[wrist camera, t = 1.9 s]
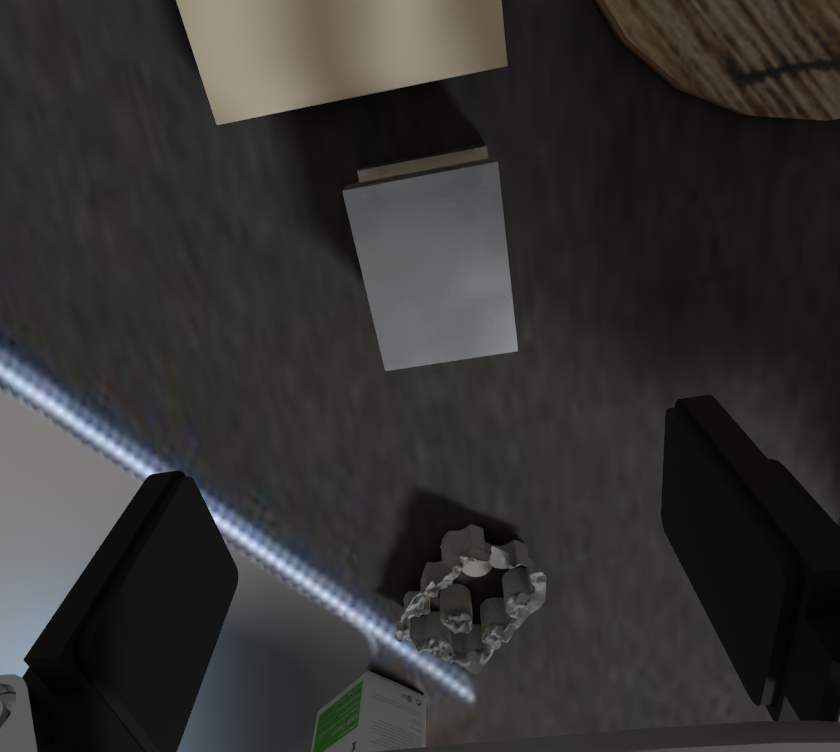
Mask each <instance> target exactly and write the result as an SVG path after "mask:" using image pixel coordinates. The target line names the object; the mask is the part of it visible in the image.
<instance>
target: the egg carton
mask: <svg viewBox="0 0 840 752" xmlns="http://www.w3.org/2000/svg"><path fill="white" fill-rule="evenodd" d="M440 548H441V551H442V561H439V562H427V563H426V565H425V568H424V570H423V575H422V578H421V581H420V582H421V591H415V592H414V591H408V592H407V593H406V594H405V596H404V599H403V601H404V613H403V615H402V618H401V620H400V621H398V622H397V633H396V635H395V638H396V639H397V641H399V642H402V641H403V639H407V640H409V641H411V642H412V643H414V644H415V646H416V648H417V650H418V651H419V652H422V651H428V652H430V653H431V654H433V656H435V657H439V658H442V659H444V660H445V661H447V662H448V663H449V664H451V663H452V662H458V663H459V664H460V665H461V666H463V667H464V668H466V669H467V670H469V671H471V672H473V673H474V674H476V675H477V674H478V673H479V672H480V671H481V669H482V668H483V666H484V665H485V663H486V662H487V661H488V659H489V658H490V657H491V655H492V653H493V651H494V649H499V648H500V645H501V642H502V641H503V642H508V641H509V639H510V638H511V636H512V634H513V633H514V632H515V630H516V629H517V628H518V627H520V626H521V625H522V623H523V622H524V620H525V619H526V618H527V617H528V616H529V615H530V614H532V613H533V612H535V611H536V610H537V609H539V608H540V607H541V606H542V605H543V603H544V602H545V597H546V576H545V575H544V574H543V573H541V572H539V573H535V570H534V563H533V560H532V559H531V558H529V556H528V551H527V547H526V545H525V544H524V543H522V542H519V541H518V540H513V541H511V542H510V543H508V544H506V545H503V546H495V545H490V544H488V543H486V542H485V541H484V533H483V528H481V527H478V526H475V525H472V524H470V525H469V526H467V527H466V528H464V529H462V530H459V531H449V532H447V533H446V534H445V536H444V537H443V539H442V544H441V546H440ZM519 565H524V566H526V567H527V568H526V569H524V568H515V567H517V566H519ZM492 566H493V567H494V568H499V569H506V568H509V571H507V572H506V573H505V574H504V575H503V577H502V586H503V593H504V598H499V597H494V598H489V599H486V600H485V601H484V602H483V603H482V604H481V606H480V614H481V625H480V624H472V603H471V594H470V591H469V589H468V588H467V587H466V586H464V585H461V584H452V583H453V580H454V579H455V578H457V577H458V575H459V574H460V572H461V571H463V572H464V573H465V574H466V575H468V576H472V577H480V576H484V575H485V574H487V573H488V572H489V571H491V568H492ZM512 568H514V569H512ZM510 569H511V570H510ZM440 589H442V590H441V591H440V612H439V611H433V612H430V610H431V609H430V597H437V596H438V593H439V590H440ZM422 614H423V615H424V614H425V615H424V616H423V617H420V616H421V615H422Z"/></svg>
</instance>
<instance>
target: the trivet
mask: <svg viewBox="0 0 840 752" xmlns="http://www.w3.org/2000/svg"><path fill="white" fill-rule="evenodd" d="M592 2H593V3H594V5H595V7H596V8H597V10H598V11H599V13H600V15H601V16H602V18H603V19H604V21H605V23H606V24H607V26H608V28H609V29H610V31H611V32H612V34H613V36H614V37H615V39H616V40H617V41H618V42H619V43H620V44H621V45H622V46H623V47H625V48H626V49H627V50H628V51H629V52H630V53H631V54H633V55H634V56H635V57H636V58H637V59H638V60H640V61H641V62H642V63H643V64H644V65H645V66H647V67H648V68H649V69H650V70H651V71H652V72H654V73H655V74H656V75H657V76H658V77H659V78H661V79H662V80H663V81H664V82H665V83H666V84H668V85H669V86H670V87H671V88H673V89H676V90H678V91H681V92H683V93H686V94H688V95H691V96H693V97H696V98H698V99H701V100H703V101H706V102H708V103H711V104H713V105H716V106H718V107H721V108H723V109H726V110H728V111H731V112H733V113H736V114H743V115H750V116H763V117H778V118H793V119H809V120H824V121H830V120H834V119H839V118H840V0H592Z"/></svg>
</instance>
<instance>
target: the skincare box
mask: <svg viewBox="0 0 840 752" xmlns="http://www.w3.org/2000/svg"><path fill="white" fill-rule="evenodd" d="M425 729H426V697H425V696H423V695H421V694H420V693H418V692H416V691H413V690H411V689H409V688H407V687H405V686H403V685H400V684H398V683H396V682H394V681H392V680H389V679H387V678H385V677H382V676H380V675H378V674H376V673H373V672H371V671H366V672H365V673H363V674H362V675H361V676H360V677H359V678H358V679H357V680H355V681H354V682H353V683H351V684H350V685H349V686H348V687H346V688H345V689H344V690H343V691H342V692H341V693H339V694H338V695H337V696H336V697H334V698H333V699H332V700H331V701H330V702H328V703H327V704H326V705H325V706H323V707H322V708H321V709H320V710H319V711H318V715H317V720H316V726H315V732H314V738H313V744H312V750H311V752H375V751H386V750H397V749H409V748H420V747H425Z"/></svg>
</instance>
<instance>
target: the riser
mask: <svg viewBox="0 0 840 752" xmlns="http://www.w3.org/2000/svg"><path fill="white" fill-rule="evenodd" d="M176 2H177V5H178V8H179V11H180V14H181V17H182V20H183V23H184V26H185V29H186V32H187V35H188V39H189V42H190V45H191V48H192V51H193V54H194V57H195V60H196V63H197V66H198V69H199V72H200V75H201V78H202V81H203V84H204V87H205V91H206V94H207V97H208V100H209V103H210V106H211V109H212V112H213V115H214V118H215V121H216V124H217V125H221V124H225V123H230V122H235V121H240V120H245V119H250V118H255V117H260V116H265V115H270V114H275V113H279V112H284V111H289V110H294V109H299V108H304V107H309V106H314V105H319V104H324V103H328V102H333V101H338V100H343V99H348V98H353V97H358V96H363V95H368V94H373V93H378V92H382V91H387V90H392V89H397V88H402V87H407V86H412V85H417V84H422V83H427V82H432V81H436V80H441V79H446V78H451V77H456V76H461V75H466V74H471V73H476V72H481V71H486V70H490V69H495V68H500V67H505V66H507V55H506V44H505V33H504V22H503V11H502V0H176Z"/></svg>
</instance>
